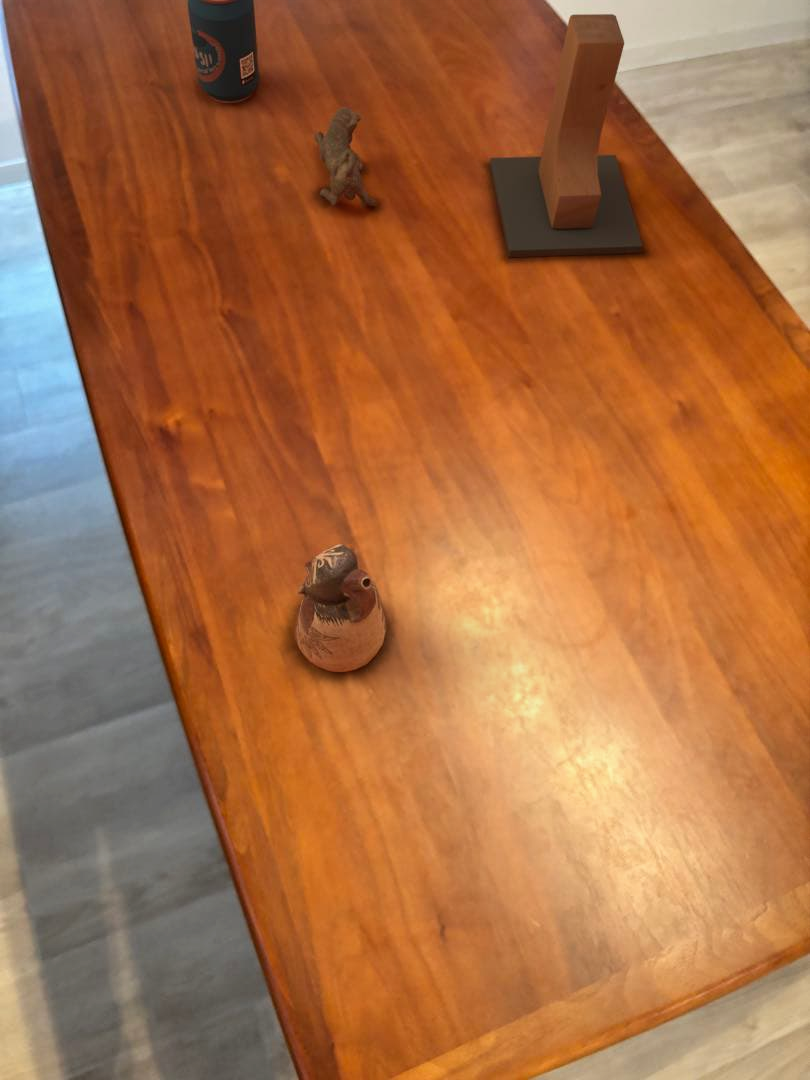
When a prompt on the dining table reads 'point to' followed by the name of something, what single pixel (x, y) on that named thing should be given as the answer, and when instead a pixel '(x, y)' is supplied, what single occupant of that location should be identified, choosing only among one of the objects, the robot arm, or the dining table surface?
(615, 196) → the mat
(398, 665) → the dining table surface
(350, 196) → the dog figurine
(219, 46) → the soda can
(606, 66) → the wooden block
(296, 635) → the figurine
